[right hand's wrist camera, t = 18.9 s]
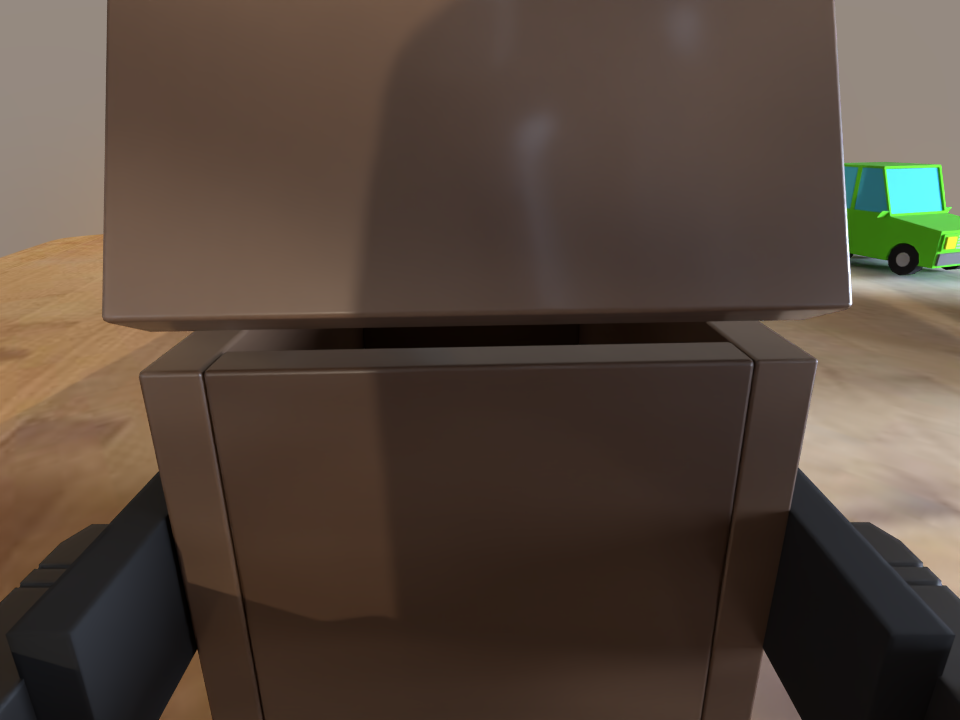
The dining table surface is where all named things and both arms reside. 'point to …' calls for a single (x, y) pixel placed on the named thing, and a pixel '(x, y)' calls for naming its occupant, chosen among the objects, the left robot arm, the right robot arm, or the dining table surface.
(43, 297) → the dining table surface
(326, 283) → the lid
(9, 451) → the dining table surface
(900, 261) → the toy car
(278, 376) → the chest
